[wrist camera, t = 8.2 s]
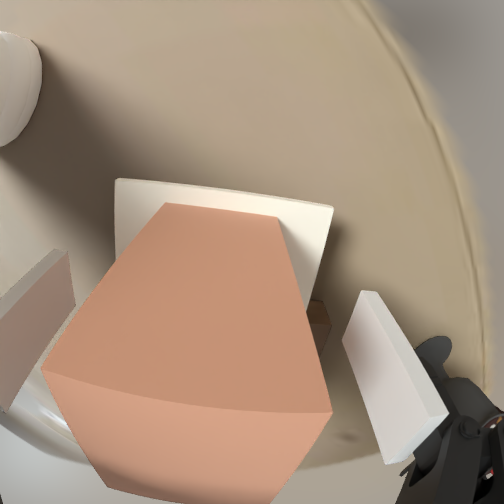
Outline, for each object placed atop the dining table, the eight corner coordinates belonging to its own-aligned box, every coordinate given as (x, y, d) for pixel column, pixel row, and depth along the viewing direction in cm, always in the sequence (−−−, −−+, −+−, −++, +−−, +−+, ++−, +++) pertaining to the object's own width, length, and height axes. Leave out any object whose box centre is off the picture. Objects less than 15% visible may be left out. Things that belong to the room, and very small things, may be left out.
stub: (123, 311, 16) (50, 471, 6) (119, 178, 13) (-54, 300, 3) (296, 333, 17) (330, 509, 7) (331, 205, 14) (463, 372, 4)
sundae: (468, 341, 22) (544, 460, 8) (419, 388, 24) (473, 512, 11) (439, 315, 20) (536, 463, 7) (382, 371, 22) (442, 525, 9)
